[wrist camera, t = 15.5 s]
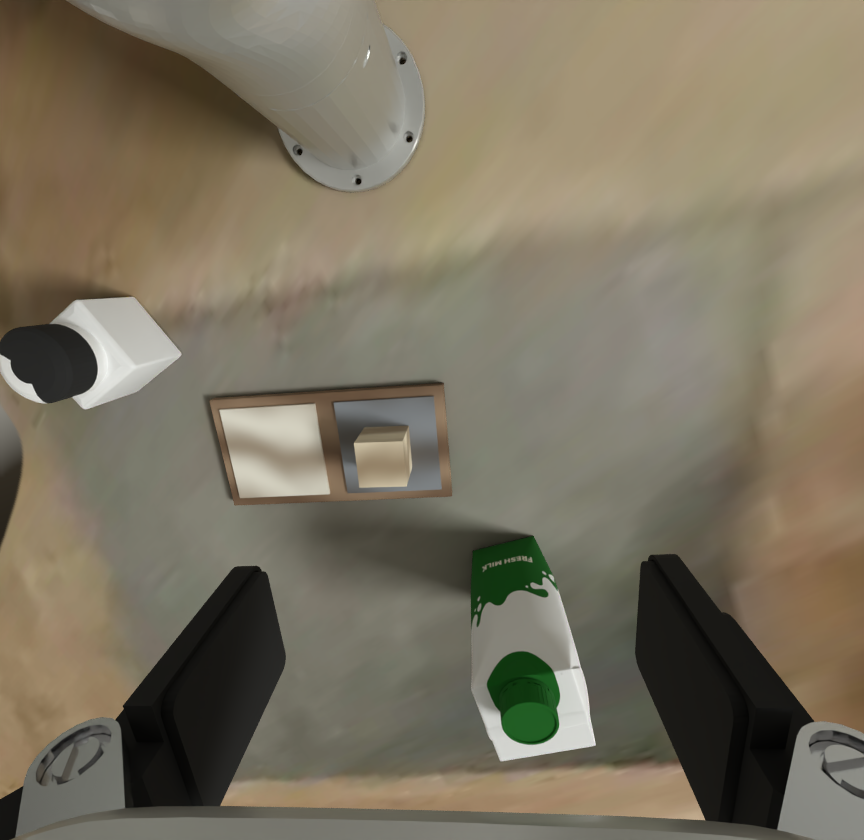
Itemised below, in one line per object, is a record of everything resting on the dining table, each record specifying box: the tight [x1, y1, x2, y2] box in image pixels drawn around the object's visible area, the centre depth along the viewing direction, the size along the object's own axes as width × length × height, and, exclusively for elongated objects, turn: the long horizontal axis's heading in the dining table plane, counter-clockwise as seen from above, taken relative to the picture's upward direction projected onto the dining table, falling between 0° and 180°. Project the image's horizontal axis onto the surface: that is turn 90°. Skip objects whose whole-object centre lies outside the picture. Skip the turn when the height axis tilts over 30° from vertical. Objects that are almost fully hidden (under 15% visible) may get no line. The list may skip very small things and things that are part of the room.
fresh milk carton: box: [471, 536, 596, 761], centre depth 41 cm, size 9×9×20 cm
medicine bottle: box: [0, 296, 181, 409], centre depth 40 cm, size 7×7×12 cm
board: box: [209, 383, 452, 505], centre depth 47 cm, size 12×24×1 cm, turn 95°
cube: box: [354, 426, 412, 488], centre depth 43 cm, size 4×4×4 cm
